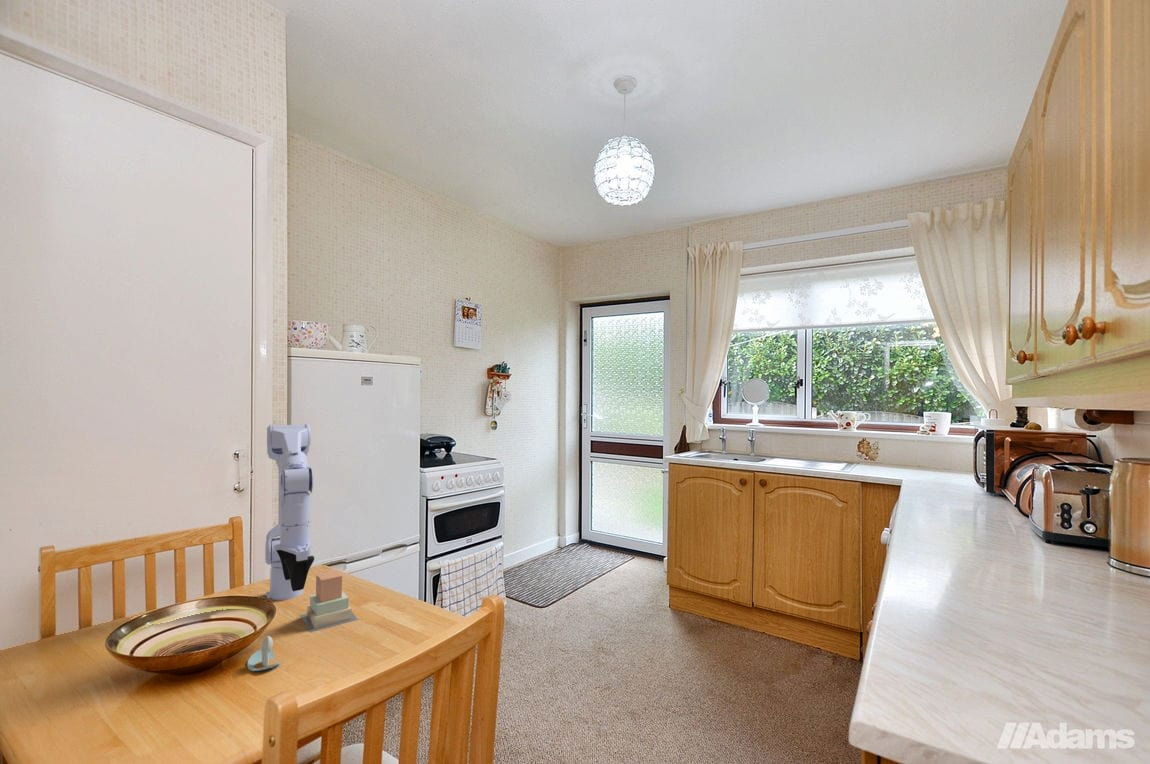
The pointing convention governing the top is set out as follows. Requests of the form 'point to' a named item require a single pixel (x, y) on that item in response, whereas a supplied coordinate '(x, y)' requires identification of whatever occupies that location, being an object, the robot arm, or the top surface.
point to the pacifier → (263, 656)
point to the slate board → (312, 629)
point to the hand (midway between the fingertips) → (294, 584)
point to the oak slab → (328, 617)
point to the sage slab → (328, 604)
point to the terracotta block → (328, 586)
